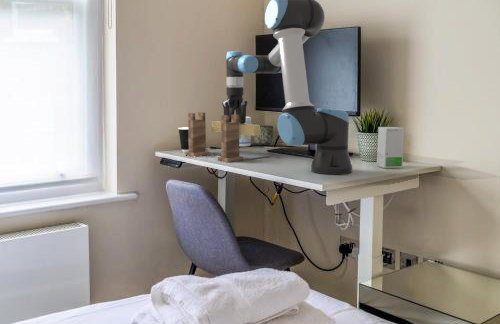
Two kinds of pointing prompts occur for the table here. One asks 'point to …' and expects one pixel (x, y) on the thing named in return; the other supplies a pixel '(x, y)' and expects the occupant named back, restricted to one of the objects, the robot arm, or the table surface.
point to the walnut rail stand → (227, 137)
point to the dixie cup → (184, 139)
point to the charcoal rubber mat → (241, 154)
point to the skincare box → (390, 147)
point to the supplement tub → (245, 136)
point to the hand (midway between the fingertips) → (235, 139)
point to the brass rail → (243, 128)
